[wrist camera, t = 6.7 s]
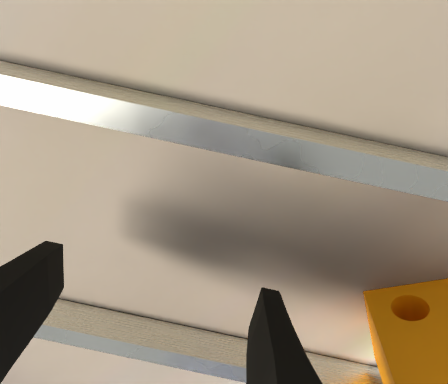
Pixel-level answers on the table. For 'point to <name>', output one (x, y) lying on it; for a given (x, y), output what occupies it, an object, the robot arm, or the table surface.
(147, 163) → the table surface
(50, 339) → the rail
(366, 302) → the pipe clamp
